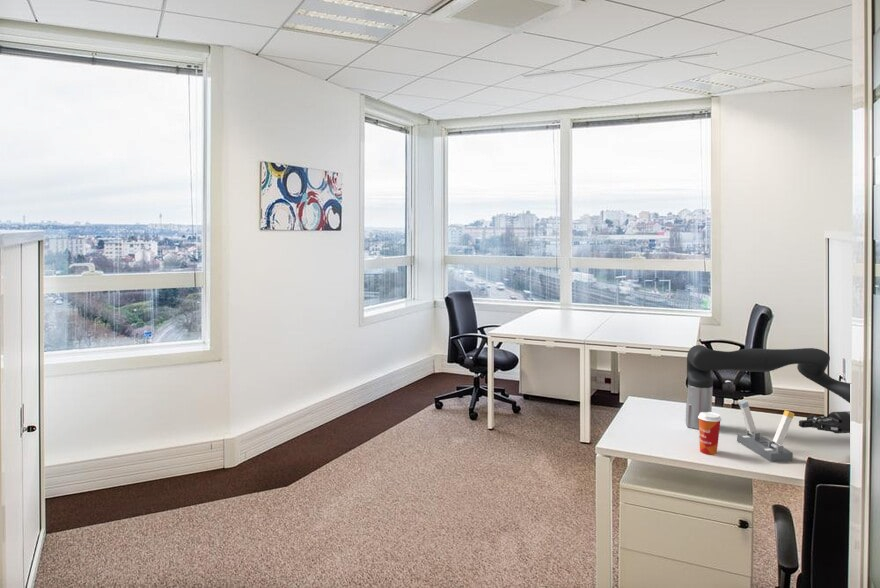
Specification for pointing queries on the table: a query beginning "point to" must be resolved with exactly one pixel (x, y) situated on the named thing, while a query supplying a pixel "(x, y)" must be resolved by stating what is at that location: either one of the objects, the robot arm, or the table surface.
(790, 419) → the toggle
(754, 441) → the toggle switch base
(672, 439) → the table surface
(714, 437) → the paper cup
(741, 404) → the toggle
